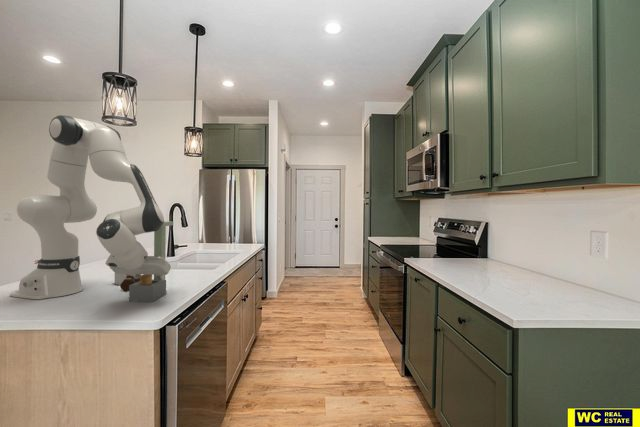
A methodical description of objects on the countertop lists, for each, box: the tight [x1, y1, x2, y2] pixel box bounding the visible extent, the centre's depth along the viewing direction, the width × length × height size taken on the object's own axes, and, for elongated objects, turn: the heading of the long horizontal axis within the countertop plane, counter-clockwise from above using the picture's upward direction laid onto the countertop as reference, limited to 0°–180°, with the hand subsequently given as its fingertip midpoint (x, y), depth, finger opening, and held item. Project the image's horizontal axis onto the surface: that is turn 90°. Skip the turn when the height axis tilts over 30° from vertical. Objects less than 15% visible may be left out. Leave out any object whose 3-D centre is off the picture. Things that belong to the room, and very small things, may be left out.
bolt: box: [119, 276, 140, 292], centre depth 128 cm, size 6×5×15 cm
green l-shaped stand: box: [153, 220, 174, 280], centre depth 115 cm, size 10×12×30 cm
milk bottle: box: [114, 272, 132, 286], centre depth 132 cm, size 8×8×20 cm
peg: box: [140, 274, 153, 285], centre depth 112 cm, size 4×4×9 cm
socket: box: [128, 279, 167, 303], centre depth 113 cm, size 9×9×6 cm
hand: (150, 277), depth 113 cm, fingers open, 8 cm apart
